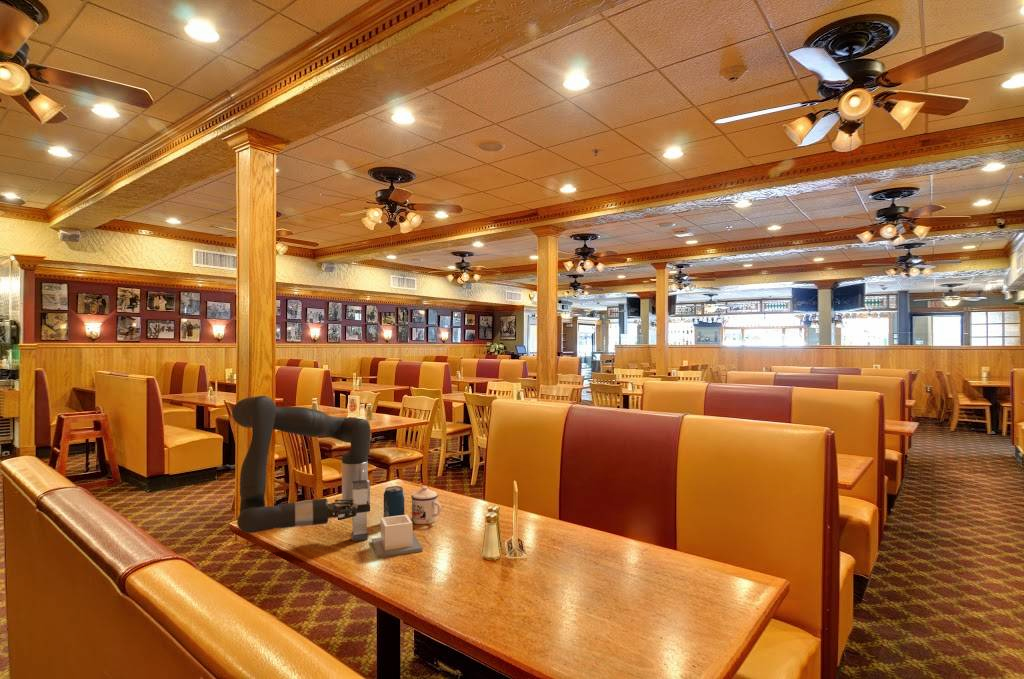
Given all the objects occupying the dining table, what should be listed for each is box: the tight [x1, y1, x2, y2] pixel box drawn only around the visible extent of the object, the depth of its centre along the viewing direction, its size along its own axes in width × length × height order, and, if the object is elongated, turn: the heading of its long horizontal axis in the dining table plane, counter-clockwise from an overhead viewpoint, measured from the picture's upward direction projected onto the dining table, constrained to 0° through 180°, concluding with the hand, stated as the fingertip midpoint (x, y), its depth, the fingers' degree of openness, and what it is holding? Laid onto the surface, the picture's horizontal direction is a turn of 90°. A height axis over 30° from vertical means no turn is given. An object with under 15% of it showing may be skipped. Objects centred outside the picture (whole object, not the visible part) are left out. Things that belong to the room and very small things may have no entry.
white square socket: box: [371, 514, 423, 559], centre depth 165 cm, size 13×13×8 cm
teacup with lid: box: [410, 485, 442, 525], centre depth 187 cm, size 12×9×12 cm
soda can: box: [383, 485, 405, 517], centre depth 185 cm, size 7×7×12 cm
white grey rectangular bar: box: [351, 480, 369, 542], centre depth 171 cm, size 3×4×18 cm, turn 112°
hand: (368, 506), depth 172 cm, fingers closed on white grey rectangular bar, 3 cm apart
